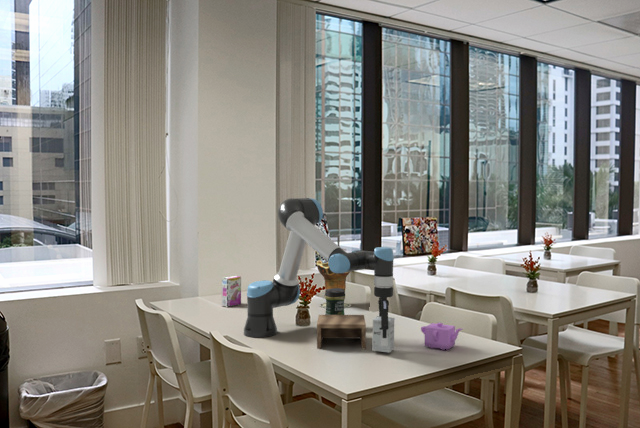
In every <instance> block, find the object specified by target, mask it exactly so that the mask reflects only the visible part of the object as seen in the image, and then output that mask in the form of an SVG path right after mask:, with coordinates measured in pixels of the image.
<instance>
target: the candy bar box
mask: <svg viewBox="0 0 640 428" xmlns="http://www.w3.org/2000/svg"><path fill="white" fill-rule="evenodd" d="M238 304H239V305H241V304H242V276H241V275H240V276H239V275H233V276H226V277H221V306H222V305H223V306H231V307H233V306H232V305H235V306H238ZM223 306H222V307H223Z"/></svg>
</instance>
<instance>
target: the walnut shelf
mask: <svg viewBox="0 0 640 428" xmlns="http://www.w3.org/2000/svg"><path fill="white" fill-rule="evenodd" d="M366 332H367V324H366V318H365V314H345V315H325V314H318V317H317V322H316V349H322V343H323V339H360V345H361V349H363V350H366V349H367V344H366V343H367V342H366V341H367V333H366Z"/></svg>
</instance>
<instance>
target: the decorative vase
mask: <svg viewBox="0 0 640 428" xmlns="http://www.w3.org/2000/svg"><path fill="white" fill-rule="evenodd" d="M316 266H317V271H318V273H319V274H320V275H321V276H322V277H323V280H324V289H325V291H326V289H332V288H342V289H344V290H345V291H346V289H347V287H346V285H347V284H346V281H347V278H348V275H350V273H351V272H352V271H350V272H345V273H334V272H332V271H331V270H330V267H329V265H328V261H327V262H323V261H322V260H317V261H316ZM325 305H326V302H323V303H321V304H320V305H319V306H320V307H322V308H325V309H326V306H325ZM350 307H352V304H350V303H345V302H344V309H346V308H350Z"/></svg>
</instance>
